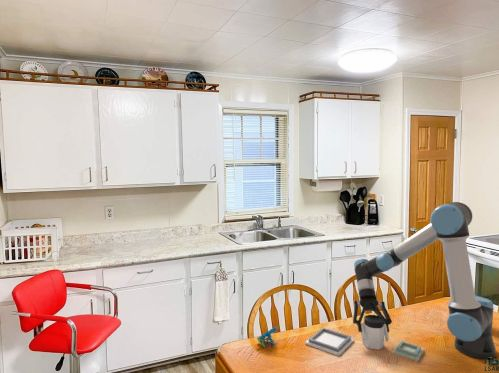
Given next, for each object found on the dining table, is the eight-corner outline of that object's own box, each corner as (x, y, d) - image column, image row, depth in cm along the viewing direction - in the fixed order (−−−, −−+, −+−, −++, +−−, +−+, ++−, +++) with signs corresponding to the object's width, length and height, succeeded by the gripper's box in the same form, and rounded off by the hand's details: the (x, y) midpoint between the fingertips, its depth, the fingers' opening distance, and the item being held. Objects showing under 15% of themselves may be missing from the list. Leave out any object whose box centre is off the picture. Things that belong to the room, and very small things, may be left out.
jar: (377, 352, 154) (378, 324, 153) (359, 345, 160) (360, 318, 159) (386, 344, 160) (387, 318, 159) (369, 338, 166) (370, 312, 165)
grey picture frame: (353, 340, 164) (354, 336, 163) (339, 356, 151) (339, 351, 151) (321, 330, 173) (321, 326, 173) (305, 343, 161) (305, 339, 160)
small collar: (423, 351, 155) (424, 346, 155) (418, 361, 147) (418, 356, 147) (399, 343, 161) (399, 339, 161) (392, 353, 153) (392, 348, 153)
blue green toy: (270, 331, 169) (279, 323, 162) (277, 343, 166) (286, 335, 159) (252, 341, 163) (259, 333, 156) (258, 353, 160) (266, 346, 153)
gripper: (388, 294, 174) (399, 343, 159) (341, 293, 175) (348, 342, 160) (392, 287, 168) (404, 337, 153) (344, 286, 169) (351, 336, 154)
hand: (375, 339), depth 157 cm, fingers open, 9 cm apart
